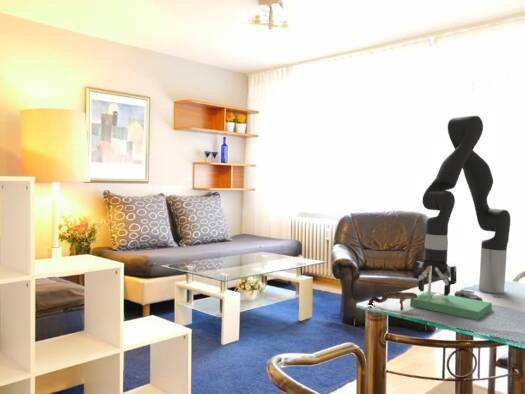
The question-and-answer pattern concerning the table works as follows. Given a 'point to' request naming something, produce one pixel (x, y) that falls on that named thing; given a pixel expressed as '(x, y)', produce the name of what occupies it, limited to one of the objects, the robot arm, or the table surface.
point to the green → (453, 305)
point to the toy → (393, 297)
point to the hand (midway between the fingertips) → (433, 293)
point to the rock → (467, 295)
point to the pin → (429, 269)
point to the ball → (438, 297)
